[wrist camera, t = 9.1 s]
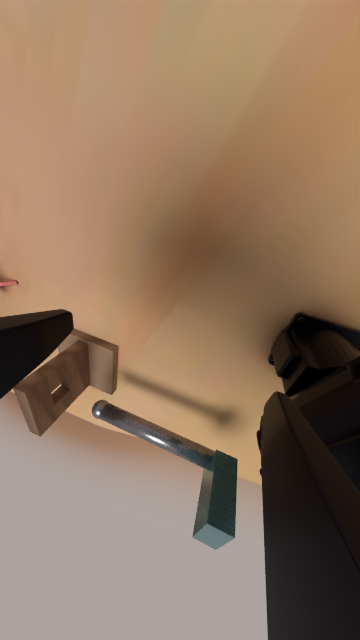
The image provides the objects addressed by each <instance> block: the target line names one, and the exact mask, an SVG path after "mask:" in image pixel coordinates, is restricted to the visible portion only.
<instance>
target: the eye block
mask: <svg viewBox="0 0 360 640" xmlns="http://www.w3.org/2000/svg"><path fill="white" fill-rule="evenodd" d="M58 349H59V354H58V355H57V356H56V357H54V358H53V359H51V360H50V361H49V362H47V363H46V364H44V365H43V366H42V367H40V368H39V369H37V370H36V371H35V372H33V373H32V374H31V375H29V376H28V377H26V378H25V379H24V380H22V381H21V382H19V383H18V384H17V385H16V386H15V387H14V388H13V390H14V392H15V394H16V397H17V400H18V402H19V405H20V407H21V410H22V412H23V415H24V417H25V420H26V422H27V425H28V427H29V430H30V432H32V433H34V434H36V435H38V436H41V435H42V434H43V433H44V432H45V431H46V430H47V429H48V428H49V427H50V426H51V425H52V424H53V422H55V421H56V419H57V418H58V417H59V416H60V415H61V414H62V413H63V412H64V411H65V410H66V409H67V408H68V407H69V406H70V405H71V404H72V403H73V402H74V401H75V399H76V398H77V397H78V396H79V395H80V394H81V393H82V392H83V391H84V390H85V389H86V388H87V387H88V386H89V385H90V386H93V387H95V388H97V389H99V390H102V391H104V392H106V393H108V394H111V395H112V394H113V393H114V392H115V390H116V380H117V360H118V346H116V345H113V344H111V343H108V342H106V341H103V340H101V339H98V338H96V337H93V336H91V335H88V334H86V333H83V332H81V331H78V330H76V329H73V331H72V332H71V333H70V335H69V336H68V337H67V338H66V339H65V340H64V341H63V342H62V343H61V344H60V345H59V346H58ZM60 384H61V385H62V386H60V387H59V388H58V389H57V390H56V391H55V392H54V393H53V394H51V392H52V391H53V390H54V389H56V388H57V387H58V386H59V385H60Z"/></svg>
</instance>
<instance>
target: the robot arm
mask: <svg viewBox="0 0 360 640" xmlns="http://www.w3.org/2000/svg"><path fill="white" fill-rule="evenodd" d="M299 317H303V319H301V320H298V318H299ZM73 328H74V326H73V316H72V313H71V312H69V311H66V310H64V309H59V310H51V311H44V312H36V313H29V314H21V315H14V316H6V317H0V399H1V398H2V397H3V396H4V395H6V394H7V393H8V392H9V391H10V390H11V389H12V388H14V387H15V386H16V385H17V384H18V383H19V382H20V381H22V380H23V379H24V378H25V377H26V376H27V375H28V374H30V373H31V372H32V371H33V370H34V369H35V368H36V367H37V366H39V365H40V364H41V363H42V362H43V361H44V360H45V359H46V358H48V357H49V356H50V355H51V354H52V352H53V351H54V350H55V349H56V348H57V347H58V346H59V345H60V344H61V343H62V342H63V341H64V340H65V339H66V338H67V337H68V336H69V335H70V333H71V332H72V331H73ZM272 360H274V361H272ZM268 361H269V363H270V364H271V365H274V366H275V369H276V374H277V376H278V377H281V378H282V382H283V386H284V391H285V394H283V393H281V392H278V391H276V392H274V393H273V394H272V396H271V397H270V398H269V400H268V401H267V402H266V404H265V406H264V414H263V416H262V417H261V423H260V430H258V431H257V440H258V446H259V450H260V453H261V469H260V474H261V476H262V494H263V521H264V546H265V573H266V599H267V624H268V640H360V331H359V330H356V329H352V328H349V327H346V326H343V325H340V324H336V323H333V322H330V321H327V320H324V319H320V318H317V317H314V316H311V315H308V314H305V313H298V314H296V315H295V316H294V318H293V319H292V321H291V323H290V324H289V326H288V327H287V329H285V330H283V331H282V332H281V334H280V335H279V337H278V339H277V340H276V342H275V344H274V345H273V347H272V353H271V354H270V356H269V358H268Z"/></svg>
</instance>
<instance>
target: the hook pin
mask: <svg viewBox="0 0 360 640" xmlns="http://www.w3.org/2000/svg"><path fill="white" fill-rule="evenodd" d="M92 414H93V416H94V417H95V418H97V419H101V420H103V421H106V422H108V423H110V424H112V425H114V426H116V427H118V428H120V429H122V430H125V431H127V432H129V433H131V434H133V435H135V436H137V437H139V438H141V439H144V440H146V441H148V442H150V443H152V444H155V445H156V446H159V447H160V448H163V449H165V450H167V451H169V452H171V453H173V454H175V455H177V456H180V457H182V458H184V459H186V460H188V461H190V462H192V463H195V464H196V465H199V466H201V467H203V468H204V471H203V478H202V483H201V489H200V495H199V501H198V507H197V513H196V519H195V525H194V531H193V538H195V539H197V540H199V541H201V542H202V543H205V544H206V545H208V546H210V547H212V548H214V549H218V548H219V547H221V546H223V545H224V544H226V543H227V542H229V541H231V540H232V539H234V538H235V517H236V487H237V459H236V458H234V457H231V456H229V455H227V454H225V453H223V452H220V451H218V450H216V451H213V450H211V449H209V448H207V447H204V446H202V445H200V444H198V443H196V442H193V441H191V440H189V439H187V438H185V437H182V436H180V435H178V434H176V433H174V432H171V431H169V430H167V429H165V428H163V427H160V426H158V425H156V424H154V423H152V422H149V421H147V420H145V419H143V418H141V417H138V416H136V415H134V414H132V413H130V412H127V411H125V410H123V409H121V408H119V407H116V406H114V405H112V404H110V403H108V402H107V401H105V400H100V401H97V402H96V403H95V404H94V405H93V407H92Z"/></svg>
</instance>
